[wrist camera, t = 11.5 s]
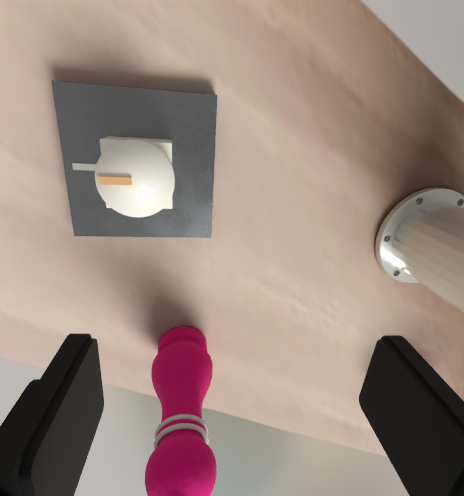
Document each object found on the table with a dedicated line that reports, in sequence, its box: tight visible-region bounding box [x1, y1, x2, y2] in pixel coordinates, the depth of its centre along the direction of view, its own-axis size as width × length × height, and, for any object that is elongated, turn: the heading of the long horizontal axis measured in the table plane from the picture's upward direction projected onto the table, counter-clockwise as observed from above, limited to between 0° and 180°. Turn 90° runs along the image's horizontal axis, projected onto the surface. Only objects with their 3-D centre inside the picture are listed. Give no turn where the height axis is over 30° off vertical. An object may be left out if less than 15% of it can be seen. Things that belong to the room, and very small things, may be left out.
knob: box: [95, 136, 175, 217], centre depth 26 cm, size 6×6×6 cm
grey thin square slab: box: [52, 81, 217, 238], centre depth 28 cm, size 14×14×5 cm
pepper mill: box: [145, 327, 216, 496], centre depth 31 cm, size 7×7×20 cm
